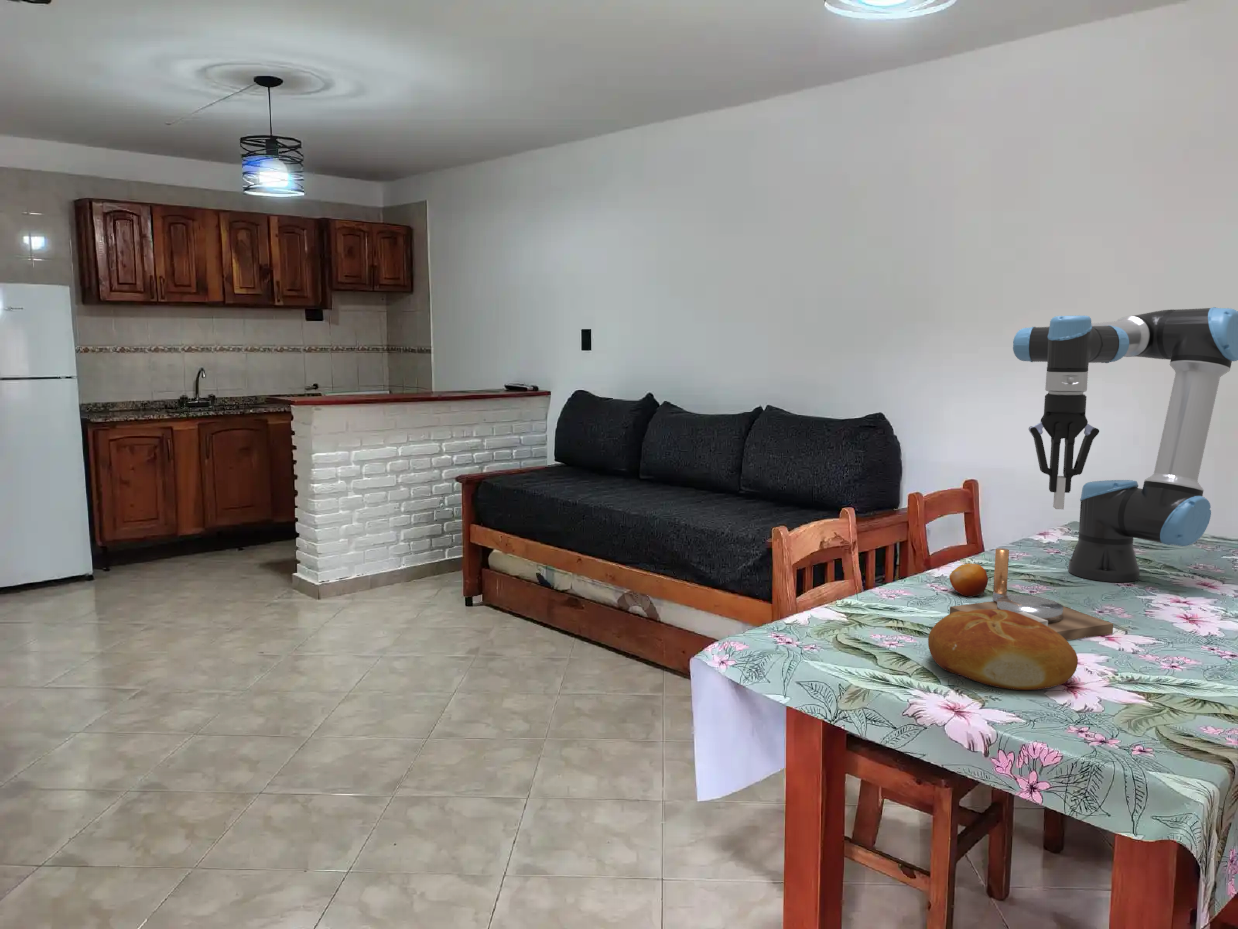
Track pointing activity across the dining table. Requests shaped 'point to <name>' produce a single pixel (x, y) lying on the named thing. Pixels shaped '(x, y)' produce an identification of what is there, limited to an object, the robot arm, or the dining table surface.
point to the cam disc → (1020, 602)
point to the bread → (1002, 649)
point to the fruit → (969, 579)
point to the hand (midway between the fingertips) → (1058, 508)
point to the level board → (1067, 627)
